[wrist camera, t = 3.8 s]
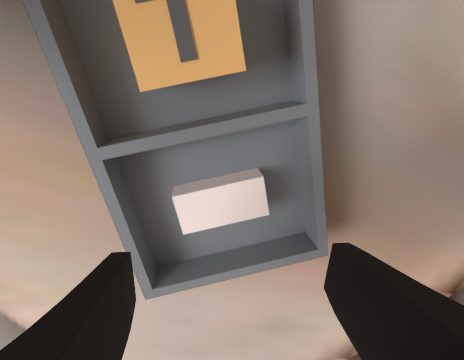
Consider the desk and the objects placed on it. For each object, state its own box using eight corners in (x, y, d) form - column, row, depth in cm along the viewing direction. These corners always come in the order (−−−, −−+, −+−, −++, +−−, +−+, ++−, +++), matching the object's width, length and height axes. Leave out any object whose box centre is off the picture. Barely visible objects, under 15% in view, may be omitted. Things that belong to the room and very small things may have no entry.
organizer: (151, 272, 18) (145, 299, 16) (-110, -417, 8) (-228, -607, 6) (312, 234, 18) (328, 255, 16) (253, -453, 9) (274, -637, 6)
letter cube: (155, 87, 14) (140, 92, 10) (129, -5, 12) (99, -42, 8) (232, 72, 14) (246, 70, 10) (216, -21, 12) (225, -64, 8)
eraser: (184, 221, 16) (183, 234, 15) (173, 186, 16) (171, 197, 14) (263, 203, 17) (269, 214, 15) (257, 167, 16) (263, 176, 14)
